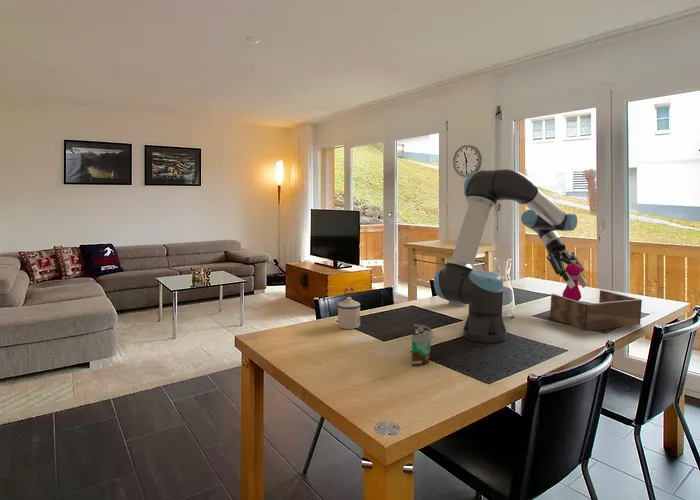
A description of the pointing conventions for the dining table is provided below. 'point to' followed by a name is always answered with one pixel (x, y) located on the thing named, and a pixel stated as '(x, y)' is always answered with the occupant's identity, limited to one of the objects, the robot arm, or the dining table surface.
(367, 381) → the dining table surface
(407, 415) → the dining table surface
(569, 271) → the pepper mill
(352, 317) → the teacup with lid
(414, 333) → the food container
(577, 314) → the open-sided box
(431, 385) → the dining table surface
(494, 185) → the robot arm
